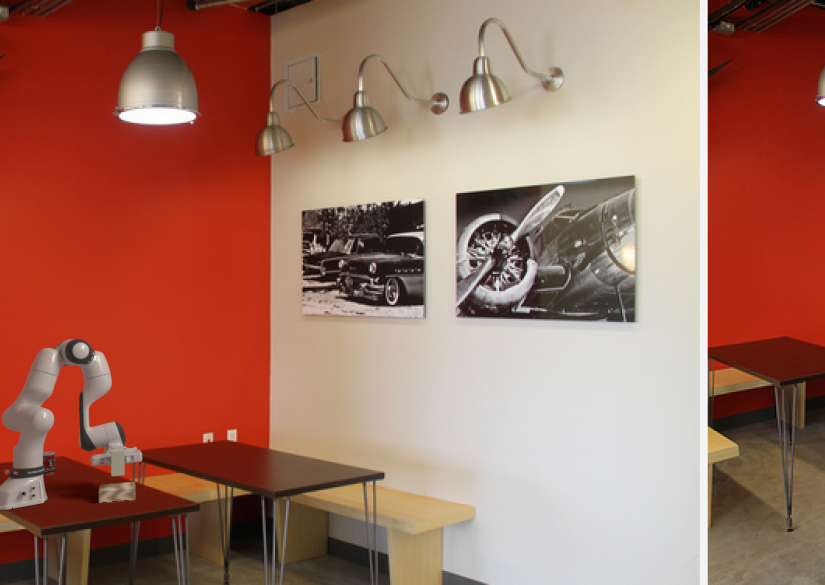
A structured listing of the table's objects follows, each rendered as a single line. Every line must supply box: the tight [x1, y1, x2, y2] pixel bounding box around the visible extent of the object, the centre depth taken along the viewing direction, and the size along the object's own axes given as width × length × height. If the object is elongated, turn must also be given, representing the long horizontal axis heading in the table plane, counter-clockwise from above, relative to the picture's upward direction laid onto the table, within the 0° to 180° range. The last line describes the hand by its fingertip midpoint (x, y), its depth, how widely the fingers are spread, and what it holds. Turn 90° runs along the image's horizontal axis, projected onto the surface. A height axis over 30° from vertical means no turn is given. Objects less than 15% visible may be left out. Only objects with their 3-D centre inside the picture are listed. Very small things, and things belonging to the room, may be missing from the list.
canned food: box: [43, 451, 56, 478], centre depth 379 cm, size 8×8×11 cm
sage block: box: [110, 449, 126, 477], centre depth 332 cm, size 5×5×10 cm
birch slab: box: [98, 481, 137, 504], centre depth 331 cm, size 14×14×5 cm
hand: (117, 461), depth 331 cm, fingers closed on sage block, 5 cm apart
